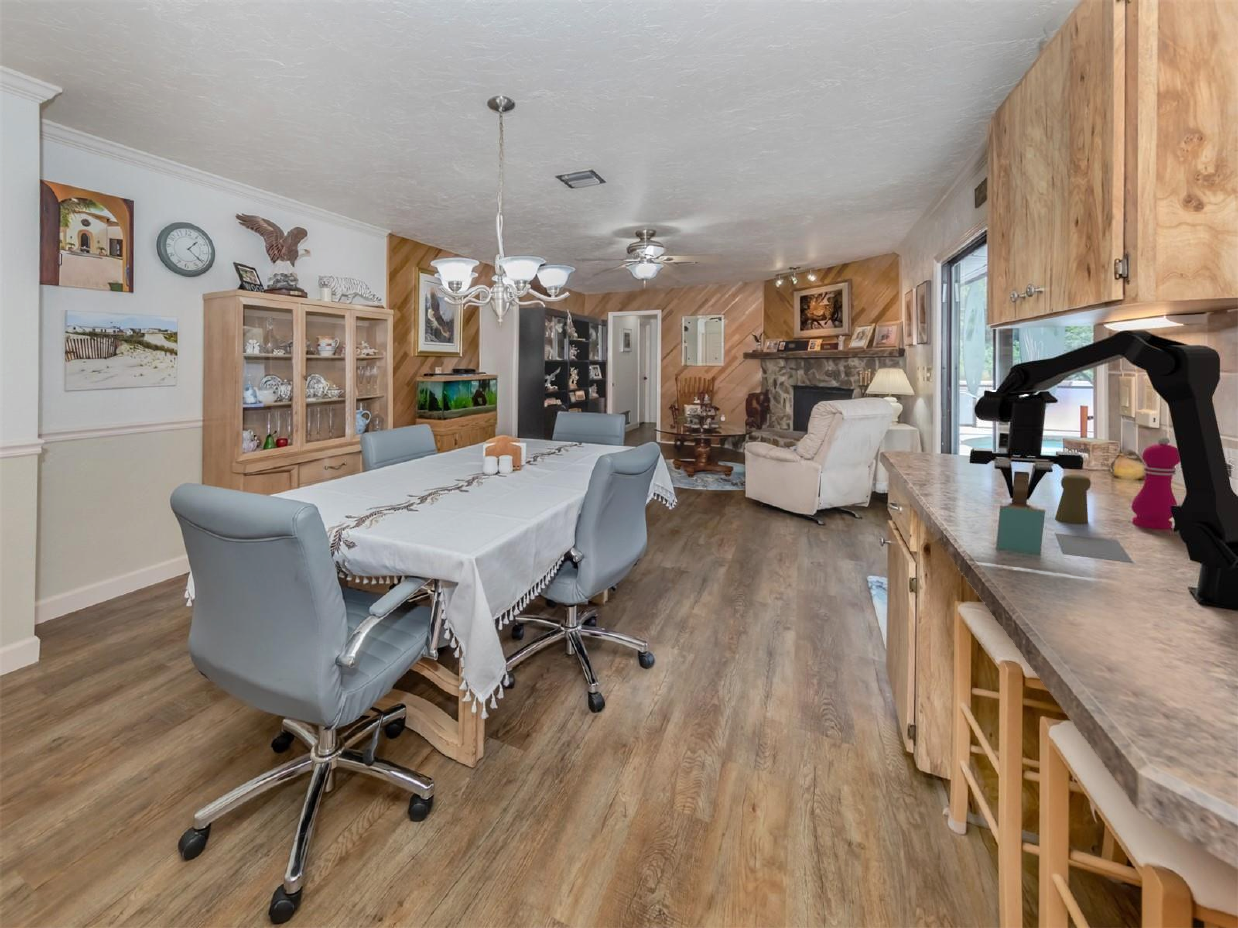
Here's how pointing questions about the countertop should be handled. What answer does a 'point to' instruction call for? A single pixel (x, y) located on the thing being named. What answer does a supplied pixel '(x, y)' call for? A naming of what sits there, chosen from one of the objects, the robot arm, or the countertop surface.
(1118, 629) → the countertop surface
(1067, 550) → the mat
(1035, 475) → the robot arm
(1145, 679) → the countertop surface
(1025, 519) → the tile
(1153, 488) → the pepper mill
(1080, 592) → the countertop surface
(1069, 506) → the cork
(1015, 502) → the brown post on base
